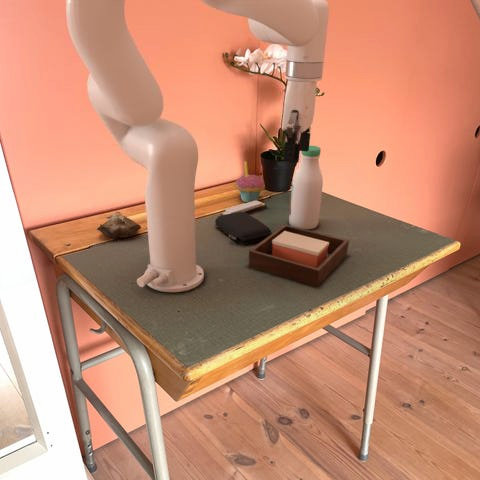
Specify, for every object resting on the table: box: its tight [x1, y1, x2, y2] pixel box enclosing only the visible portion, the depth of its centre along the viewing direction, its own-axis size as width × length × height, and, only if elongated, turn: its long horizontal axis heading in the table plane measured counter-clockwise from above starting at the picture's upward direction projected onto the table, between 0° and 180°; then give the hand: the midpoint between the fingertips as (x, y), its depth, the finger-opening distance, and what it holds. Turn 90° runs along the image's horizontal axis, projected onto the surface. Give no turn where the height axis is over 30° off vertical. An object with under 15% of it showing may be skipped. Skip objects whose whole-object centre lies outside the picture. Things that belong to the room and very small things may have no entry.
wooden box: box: [248, 224, 350, 288], centre depth 113 cm, size 18×17×4 cm
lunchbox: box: [271, 231, 329, 268], centre depth 113 cm, size 6×11×5 cm, turn 59°
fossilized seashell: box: [96, 211, 142, 239], centre depth 122 cm, size 8×7×10 cm
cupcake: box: [235, 158, 266, 203], centre depth 143 cm, size 9×8×12 cm
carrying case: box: [214, 212, 273, 245], centre depth 125 cm, size 11×3×15 cm
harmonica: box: [220, 200, 268, 216], centre depth 137 cm, size 15×3×2 cm, turn 132°
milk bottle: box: [288, 144, 324, 230], centre depth 126 cm, size 8×8×20 cm
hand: (296, 156), depth 110 cm, fingers open, 9 cm apart
